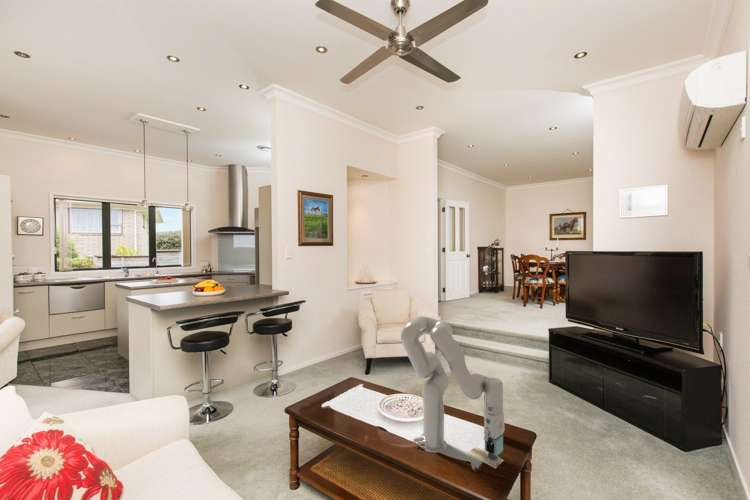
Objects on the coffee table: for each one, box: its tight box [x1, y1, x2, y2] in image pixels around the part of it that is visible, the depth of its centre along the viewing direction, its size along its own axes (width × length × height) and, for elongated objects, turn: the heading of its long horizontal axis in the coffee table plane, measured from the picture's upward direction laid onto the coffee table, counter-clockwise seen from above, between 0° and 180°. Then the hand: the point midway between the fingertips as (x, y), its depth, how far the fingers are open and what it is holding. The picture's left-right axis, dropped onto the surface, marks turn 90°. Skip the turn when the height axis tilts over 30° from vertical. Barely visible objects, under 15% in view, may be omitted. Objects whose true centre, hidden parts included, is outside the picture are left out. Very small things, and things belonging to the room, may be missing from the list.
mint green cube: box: [484, 434, 504, 456], centre depth 147 cm, size 6×6×6 cm
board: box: [466, 445, 504, 469], centre depth 150 cm, size 8×14×1 cm, turn 43°
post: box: [485, 452, 502, 466], centre depth 147 cm, size 5×5×7 cm
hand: (493, 448), depth 147 cm, fingers closed on mint green cube, 5 cm apart
